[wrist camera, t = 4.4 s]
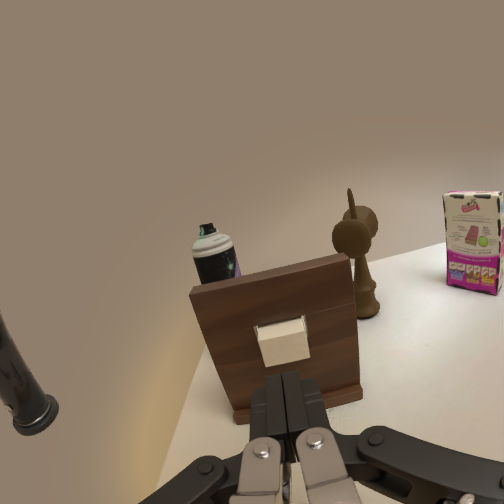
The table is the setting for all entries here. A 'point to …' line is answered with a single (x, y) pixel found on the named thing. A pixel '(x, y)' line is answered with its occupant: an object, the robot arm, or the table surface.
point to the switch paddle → (283, 341)
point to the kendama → (358, 252)
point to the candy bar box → (475, 239)
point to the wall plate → (276, 309)
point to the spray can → (214, 256)
